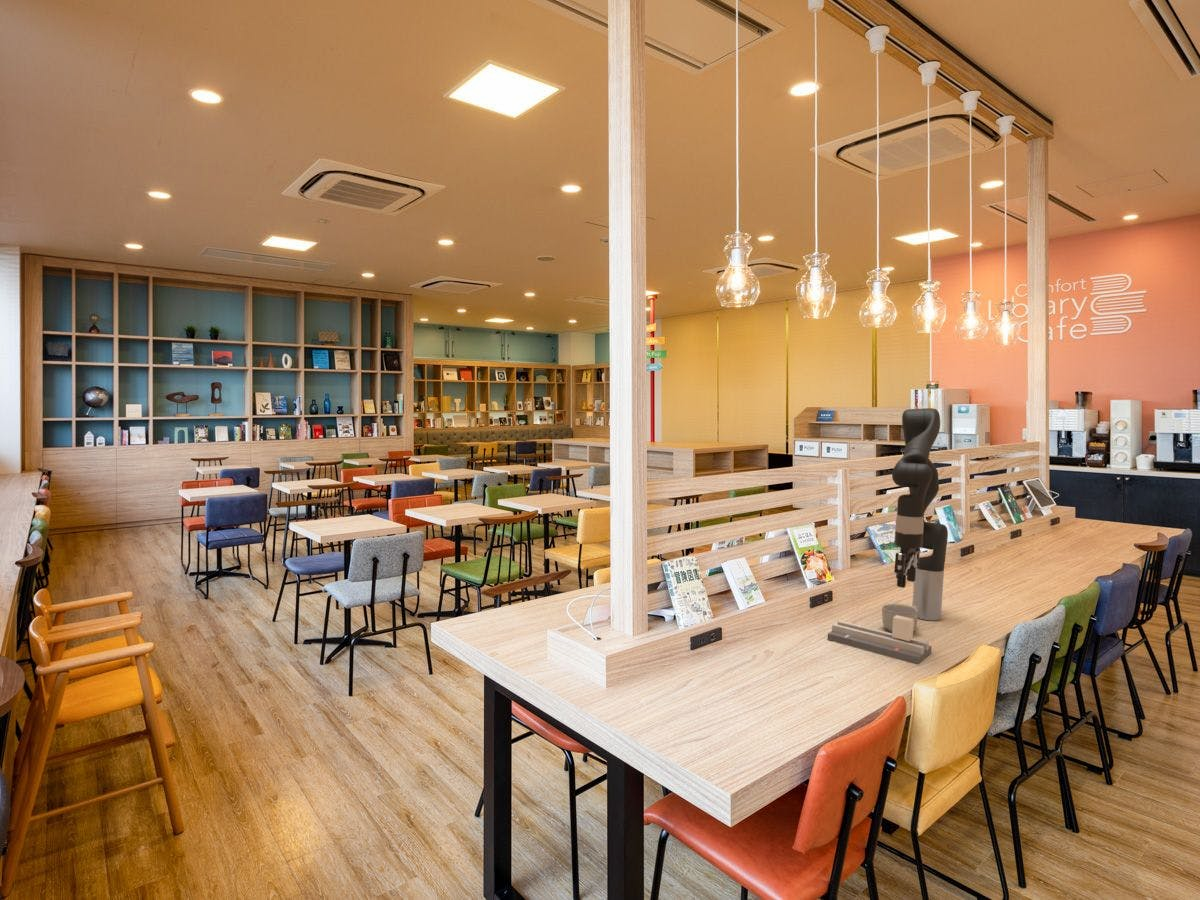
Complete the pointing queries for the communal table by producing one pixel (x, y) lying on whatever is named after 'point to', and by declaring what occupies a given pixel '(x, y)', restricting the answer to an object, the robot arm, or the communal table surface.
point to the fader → (902, 628)
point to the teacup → (899, 610)
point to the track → (878, 648)
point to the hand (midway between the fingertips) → (906, 584)
